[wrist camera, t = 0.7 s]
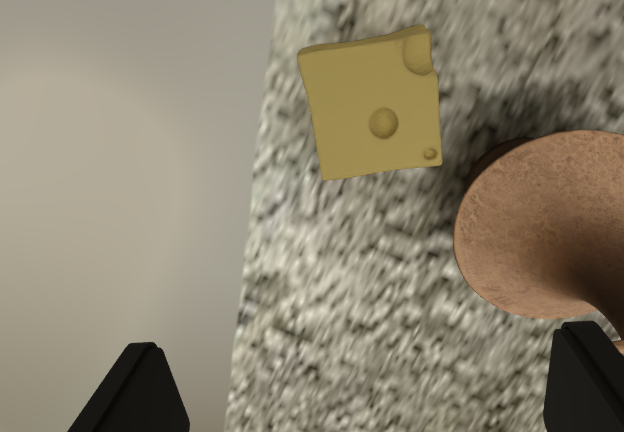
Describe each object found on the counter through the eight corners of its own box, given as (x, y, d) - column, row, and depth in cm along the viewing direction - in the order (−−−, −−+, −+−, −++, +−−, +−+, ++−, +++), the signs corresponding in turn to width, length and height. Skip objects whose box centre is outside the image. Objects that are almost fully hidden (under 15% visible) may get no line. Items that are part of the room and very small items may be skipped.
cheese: (420, 23, 37) (442, 24, 28) (426, 140, 42) (447, 173, 33) (306, 44, 39) (293, 51, 30) (324, 154, 43) (317, 190, 34)
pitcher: (634, 102, 38) (1180, 261, 13) (587, 260, 46) (881, 558, 20) (440, 105, 40) (594, 251, 15) (424, 257, 47) (510, 530, 22)
